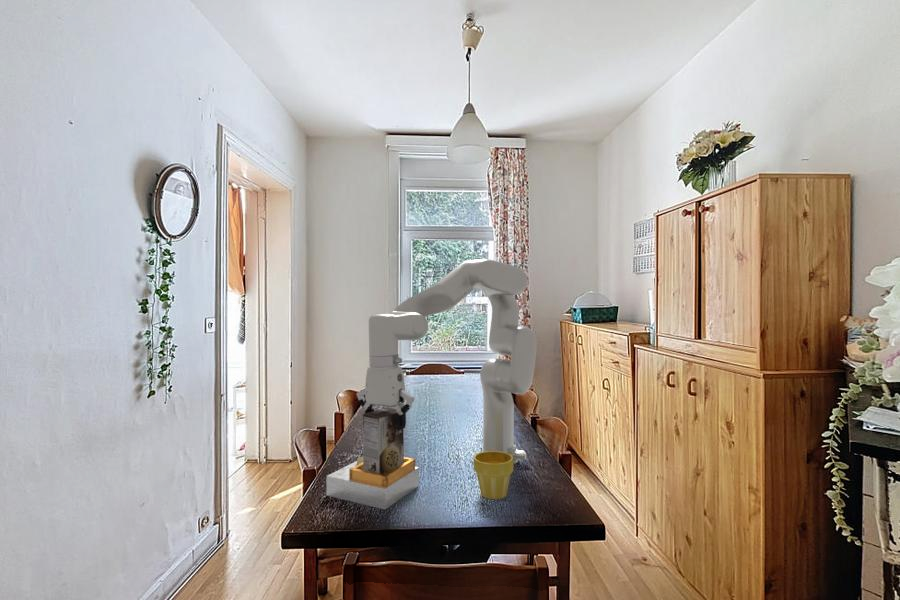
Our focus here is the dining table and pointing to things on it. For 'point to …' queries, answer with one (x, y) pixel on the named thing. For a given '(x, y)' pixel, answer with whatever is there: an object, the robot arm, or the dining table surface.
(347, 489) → the white and orange tray
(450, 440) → the dining table surface
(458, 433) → the dining table surface
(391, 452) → the coffee box
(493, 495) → the plant pot
